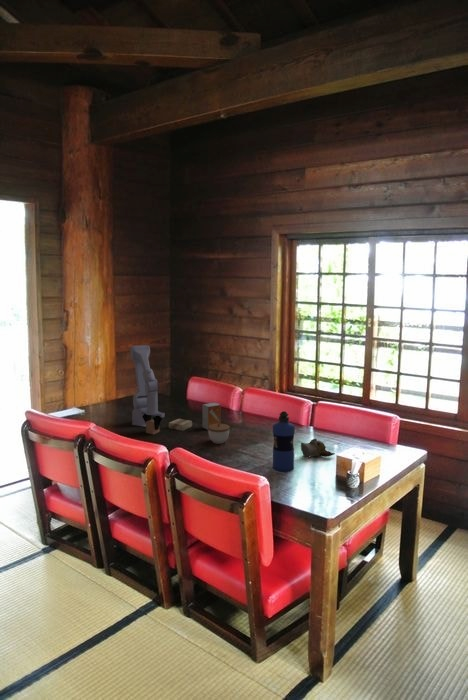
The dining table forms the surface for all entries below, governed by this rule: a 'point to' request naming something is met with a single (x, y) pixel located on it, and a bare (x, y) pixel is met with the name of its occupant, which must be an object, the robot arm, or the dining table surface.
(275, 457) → the water bottle
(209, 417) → the small box
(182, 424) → the maple base block
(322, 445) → the ceramic sculpture
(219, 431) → the lidded jar
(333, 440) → the dining table surface
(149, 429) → the terracotta block
